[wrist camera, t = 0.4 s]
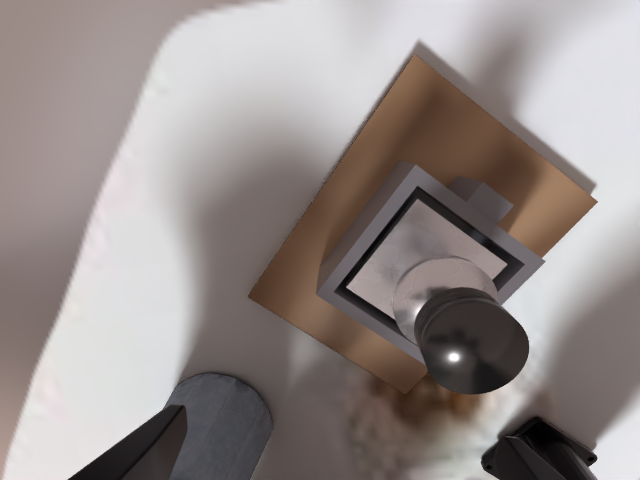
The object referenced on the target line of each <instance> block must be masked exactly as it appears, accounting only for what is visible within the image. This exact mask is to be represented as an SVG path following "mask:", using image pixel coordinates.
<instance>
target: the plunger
mask: <svg viewBox="0 0 640 480" xmlns="http://www.w3.org/2000/svg"><path fill="white" fill-rule="evenodd" d="M506 265H507V264H506V263H505V262H504V261H502V260H501V259H500V258H498V257H497V256H495V255H494V254H493V253H491V252H490V251H489V250H487V249H486V248H485V247H483V246H482V245H480V244H479V243H478V242H476V241H475V240H474V239H472V238H471V237H469V236H468V235H467V234H465V233H464V232H463V231H461V230H460V229H458V228H457V227H456V226H454V225H453V224H452V223H450V222H449V221H447V220H446V219H445V218H443V217H442V216H441V215H439V214H438V213H437V212H435V211H434V210H432V209H431V208H430V207H428V206H427V205H426V204H424V203H423V202H421V201H420V200H419V199H417V198H416V197H414V198H413V199H412V200H411V202H410V203H409V204H408V205H407V207H406V208H405V209H404V211H403V212H402V213H401V214H400V216H399V217H398V218H397V219H396V221H395V222H394V223H393V224H392V226H391V227H390V228H389V229H388V231H387V232H386V233H385V234H384V236H383V237H382V238H381V239H380V241H379V242H378V243H377V244H376V246H375V247H374V248H373V249H372V251H371V252H370V253H369V255H368V256H367V257H366V258H365V260H364V261H363V262H362V263H361V265H360V266H359V267H358V268H357V270H356V271H355V272H354V273H353V275H352V276H351V277H350V278H349V280H348V281H347V282H346V288H348V289H349V290H351V291H352V292H354V293H355V294H357V295H358V296H360V297H361V298H363V299H364V300H366V301H367V302H369V303H370V304H372V305H373V306H375V307H377V308H378V309H380V310H381V311H383V312H384V313H386V314H387V315H389V316H390V317H392V318H393V319H395V320H396V322H397V325H398V327H399V329H400V330H401V332H402V333H403V334H404V335H405V336H406V337H407V338H408V339H409V340H410V341H411V342H413V343H415V344H416V345H418V347H419V349H420V352H421V354H422V357H423V359H424V362H425V364H426V367H427V369H428V371H429V373H430V375H431V376H432V378H433V379H434V380H435V381H436V382H437V383H438V384H440V385H441V386H442V387H444V388H446V389H448V390H450V391H453V392H457V393H461V394H482V393H487V392H491V391H493V390H496V389H498V388H500V387H503V386H504V385H506V384H507V383H509V382H510V381H511V380H513V379H514V378H515V377H516V376H517V375H518V374H519V372H520V371H521V370H522V368H523V367H524V365H525V363H526V361H527V358H528V354H529V341H528V337H527V334H526V332H525V330H524V329H523V327H522V326H521V325H520V324H519V323H518V322H517V321H516V320H515V319H514V318H513V317H512V316H511V315H510V314H509V313H508V312H507V311H506V310H505V309H504V308H503V307H502V306H501V305H500V304H499V303H498V294H497V290H496V287H495V285H494V283H493V281H492V280H493V279H494V278H495V277H496V276H497V275H498V274H499V273H500V272H501V271H502V270H503V269H504V267H505V266H506Z"/></svg>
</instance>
